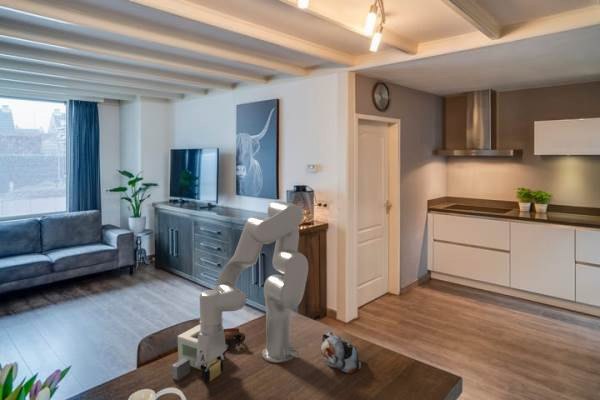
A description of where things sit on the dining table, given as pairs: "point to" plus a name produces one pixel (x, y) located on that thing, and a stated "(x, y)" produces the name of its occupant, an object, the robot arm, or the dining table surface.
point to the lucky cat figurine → (340, 353)
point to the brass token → (214, 368)
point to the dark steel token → (180, 369)
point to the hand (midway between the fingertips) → (212, 374)
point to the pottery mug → (230, 339)
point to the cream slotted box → (189, 345)
